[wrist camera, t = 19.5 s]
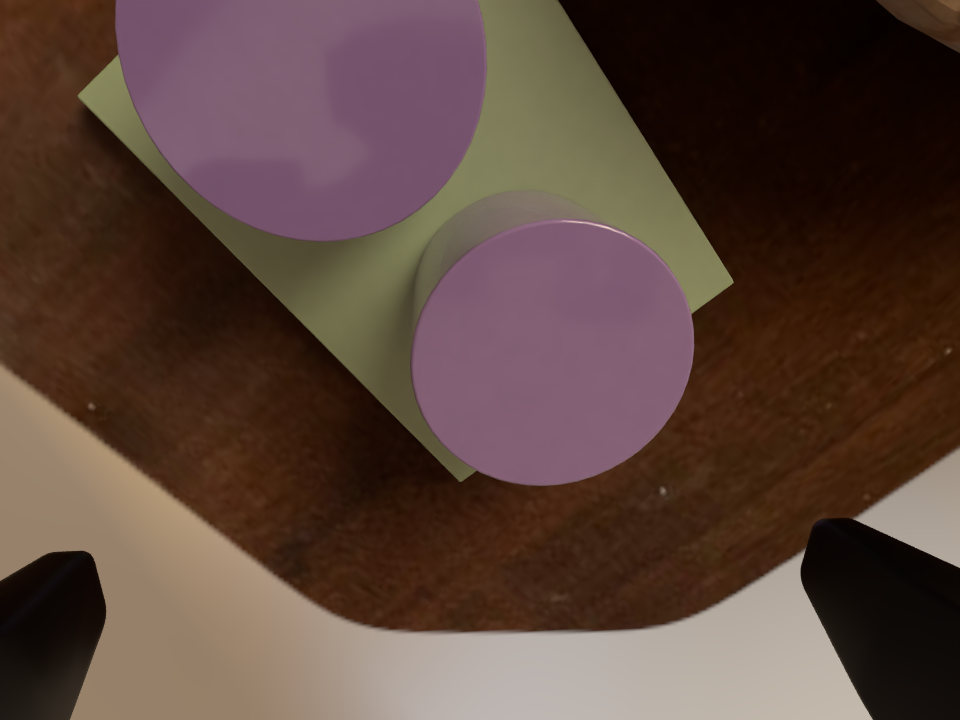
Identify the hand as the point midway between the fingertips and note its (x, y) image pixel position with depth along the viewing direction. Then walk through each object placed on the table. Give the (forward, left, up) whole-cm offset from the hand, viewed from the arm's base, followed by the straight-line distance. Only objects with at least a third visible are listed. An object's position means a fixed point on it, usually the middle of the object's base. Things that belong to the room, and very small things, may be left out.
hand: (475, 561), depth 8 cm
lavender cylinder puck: (+2, 0, -10) cm, 10 cm away
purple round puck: (-2, +6, -10) cm, 12 cm away
